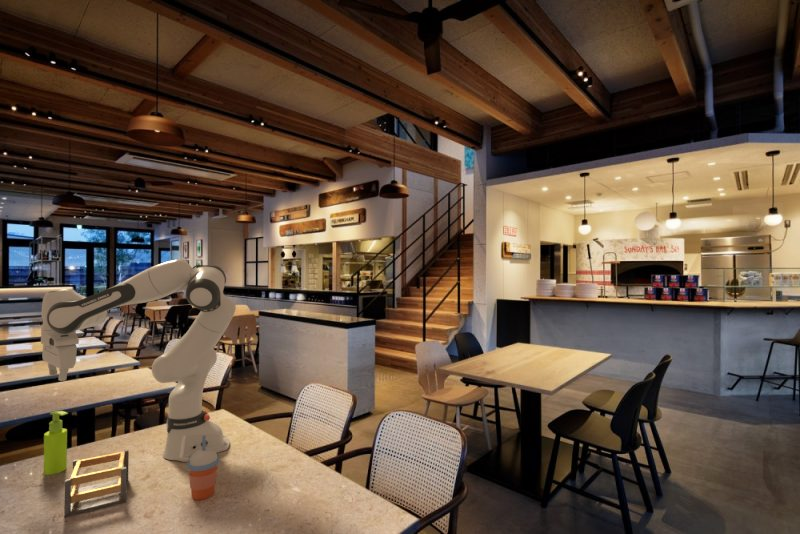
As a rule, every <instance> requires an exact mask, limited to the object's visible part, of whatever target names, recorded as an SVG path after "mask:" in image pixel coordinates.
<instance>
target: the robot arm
mask: <svg viewBox="0 0 800 534" xmlns="http://www.w3.org/2000/svg"><path fill="white" fill-rule="evenodd" d="M226 277H227V276H226V274H225V271H224V270H223V269H222V267H220V266H217V265H214V264H205V265H204V264H203V265H202V264H196V265H194V266H192V265H191V264H190V263H189V262H188V261H186V260H184V259H181V258H177V259H173V260H171V259H170V260H168V261H165V262H162V263H158V264H155V265H154V266H150V267H149V268H146V269H144V270H142V271H140V272H138V273H137V274H134V275H133V276H130V277H129V278H127V279H125V280H122V281H121V282H119V283H118V284H115V285H113V286H111V287H109V288H107V289H104V290H103V291H102V290H101V291H100V292H97V293H94V294H93V295H89V296H84V295H81V294H80V293H78V292H77V291H76V290H74V289H71V288H66V289H65V288H63V289H55V290H50V291H47V292H45V295H44V296H43V298H42V302H41V318H42V325H41V328H40V343H41V345H42V353H41V355H42V361H44V362H45V363H47V367H48V374H49V376H51V377H53V376H54V377H55V376H58V377H57V378H58V379H57V380H58V381H60V382H65V381H67V377H68V373H69V369H74V367H75V365H76V362H77V352H78V349H77V348H78V345H79V342H80V339H79V337H78V335H77V332H76V331H81V330H85V329H89V328H92V327H96V326H98V325H100V324H102V323H104V322H105V321H106V319H107V317H108V311H109V310H113V309H116V308H119V307H122V306H123V307H124V306H128V305H134V304H135V305H137V304H143V303H149V302H153V301H157V300H160V299H163V298H166V297H168V296H169V295H172V294H174V293H175V292H176V293H177V292H180V291H181V292H182V291H185V298H186V300H187V302H188V303H189V304H190V305H191V306H192V307H194V308H196V309H198V310H199V311H200V312H199V313H198V315H197V316H196V318H195V319H194V321H193V322H192V324H191V325H190V327H189V328H188V330H187V331H186V333H184V334H183V336H181V337H180V338H179V340H177V341H176V342H175V343H174V344H173V345H172V346H171V347H170V348H169V349H168V350H167V351H165V352H164V353H163V354H161V355H159V356H158V357H156V358H155V359H154V361H153V362H152V364H151V374H152V376H153V378H154V379H155V380H156V381H157V382H158V383H160V384H167V383H168V384H169V383H177V384H176V385H175V386H174V388H173V389H172V390H171V391H170V393H169V396H168V415H167V416H166V417H167V419H166V432H167V436H166V442H165V446H164V450H163V453H162V457H163V458H164V459H166V460H169V461H170V460H171V461H179V462H183V463H187V462H188V461H189V460H190V458H191V457H192V455H193V454H194V453H195V452H196V451H198V450H200V449H202V436H204V435H205V436H206V440H205V448H209V449H212V450H214V451H215V452H216V454H218V453H221V452H225V451H226V450H229V449H228V448H230V440H229V438H228V437H227V436H226V435H224V432H223V430H222V428H221V427H220V425H218V424H217V423H215V422H213V421H211V420H210V419H211V415H210V414H209V413H208V412H207V411H206V410H205V409H203V391H204V387H205V385H206V381H207V378H208V376H209V373H210V371H211V370H212V368H213V367H214V366H215V364H216V362H217V360H218V359H217V358H218V357H217V355H218V354H217V351H216V350H215V349H214V348H215V347H216V345H217V344H218V342H219V341H220V339H221V338H222V337H223V335H224V333H225V332H226V331H227V329H228V327H229V325H230V323H231V321H232V320H233V317H234V315H235V312H236V308H237V307H236V304H235V302H234V301H233V300H232V298H230V297H228V296H227V295H225V294H224V289H225V285H226V283H227V278H226ZM58 371H59V374H58Z"/></svg>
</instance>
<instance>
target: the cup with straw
mask: <svg viewBox="0 0 800 534" xmlns="http://www.w3.org/2000/svg"><path fill="white" fill-rule="evenodd" d="M205 440H206V436H205V435H204V436H202V449H200V450H198V451H196V452H195V453H194V454H193V455H192V457H191V458H190V460H189V461H188V462H186V468H187V470H189V472H188V477H189V479H188V480H189V487H190V491H191V493H190V494H191V498H192V499H193V500H196V501H200V500H206V499H208V498H210V497H212V496H213V495H214V493H215V487H216V483H217V476H218V475H217V474H218V465H219V464H220V459H221V458H220V456H219V455H218V453H216V452H215V451H214V450H212V449H209V448H205Z"/></svg>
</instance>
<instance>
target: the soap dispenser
mask: <svg viewBox="0 0 800 534" xmlns="http://www.w3.org/2000/svg"><path fill="white" fill-rule="evenodd" d="M68 414H69V413H68V411H63V410H54V411H51V412H49V415H50V416H51V415H52V420H51V421H50V422H49V423H48V425H49V427H48V431H46V432H45V433H44V434H43V475H46V476H50V475H56V474H59V473H61V472H64V471H65V470H67V463H68V462H67V461H68V457H67V456H68V455H67V454H68V429H67V428H63V420H62V419H60V417H64V416H67V415H68Z"/></svg>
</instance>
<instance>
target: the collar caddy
mask: <svg viewBox="0 0 800 534" xmlns="http://www.w3.org/2000/svg"><path fill="white" fill-rule="evenodd" d="M129 452H130V451H129V449H124V450H123V451H120V452H114V453H109V454H104V455H99V456H94V457H89V458H83V459H78V458H77V459H73V461H72V473H71V476H70V478H67V479H65V480H64V509H63V510H64V515H63V517H64V518H68V517H71V516H77V515H79V514H83V513H87V512H92V511H95V510H100V509H103V508H107V507H112V506H116V505H119V504H124V503H126V502H127V494H128V493H127V492H128V485H129V466H130V465H129V459H130V456H129V455H130V453H129ZM116 461H119V463H118V466H117V467H113V468H108V469H104V470H99V471H93V472H89V473H85V474H80V470H81V468H87V467H91V466H95V465H96V466H97V465H100V464H105V463H110V462H116ZM79 474H80V475H79ZM113 477H118V478H117V479H114V480H113V479H112V480H107V481H104V482H99V483H95V484H94V483H93V484H90V485H85V486H82V487H81V484H82V485H83V484H87V483H91V482H96V481H100V480H104V479H110V478H113Z"/></svg>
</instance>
